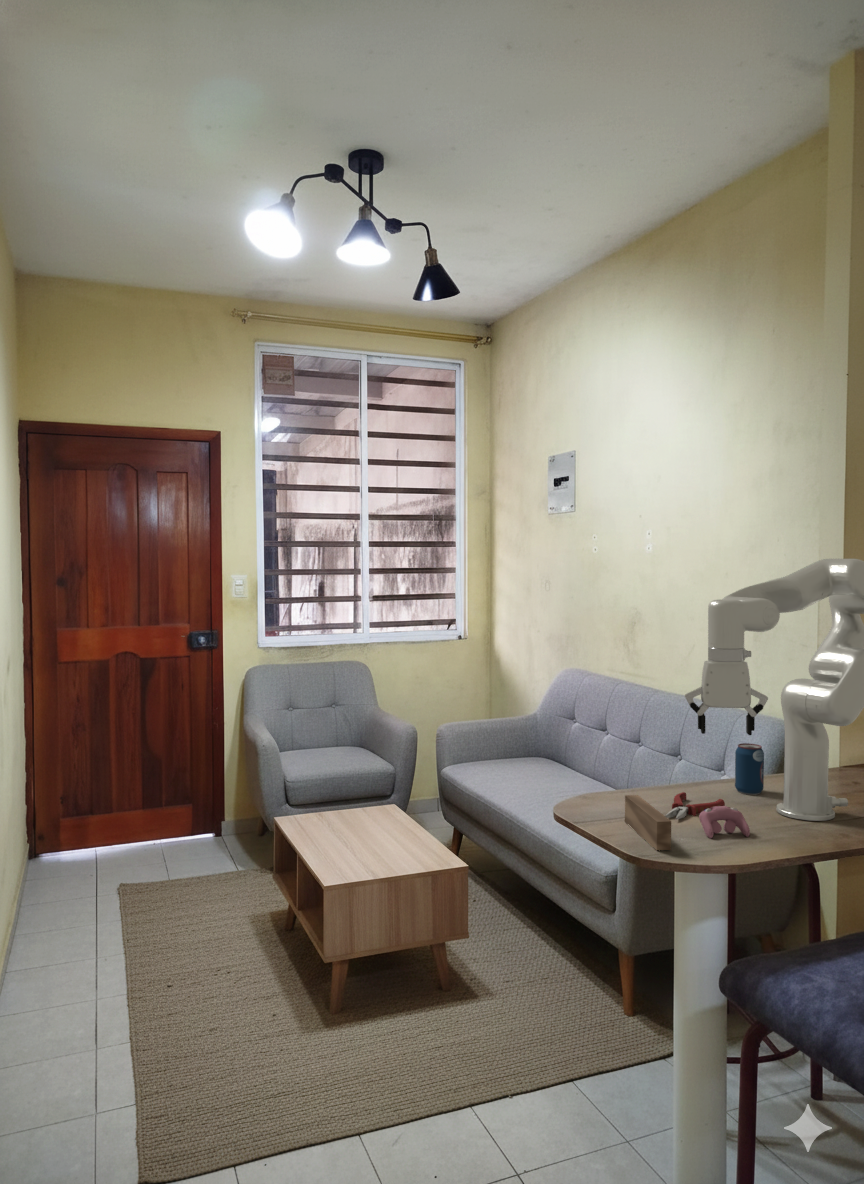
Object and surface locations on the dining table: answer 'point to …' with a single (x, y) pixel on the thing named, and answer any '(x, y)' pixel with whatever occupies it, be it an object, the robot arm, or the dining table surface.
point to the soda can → (749, 769)
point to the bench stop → (648, 822)
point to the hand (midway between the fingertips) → (725, 733)
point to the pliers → (689, 807)
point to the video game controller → (723, 813)
